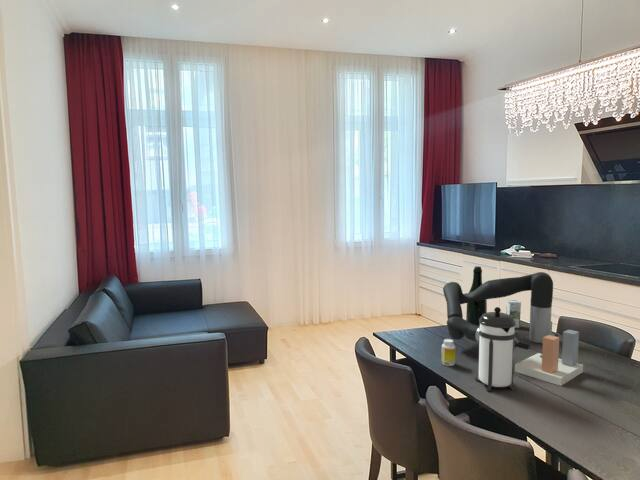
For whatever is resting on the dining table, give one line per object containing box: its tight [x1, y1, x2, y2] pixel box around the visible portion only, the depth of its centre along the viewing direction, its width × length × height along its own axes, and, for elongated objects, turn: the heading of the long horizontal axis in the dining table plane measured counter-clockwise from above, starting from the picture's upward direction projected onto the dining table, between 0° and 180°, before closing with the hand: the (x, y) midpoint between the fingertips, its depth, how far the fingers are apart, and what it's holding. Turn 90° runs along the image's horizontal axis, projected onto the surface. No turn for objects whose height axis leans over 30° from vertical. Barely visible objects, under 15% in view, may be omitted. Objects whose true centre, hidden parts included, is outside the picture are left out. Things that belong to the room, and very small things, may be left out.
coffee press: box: [474, 306, 517, 392], centre depth 170 cm, size 17×16×30 cm
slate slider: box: [561, 329, 580, 366], centre depth 181 cm, size 4×5×13 cm
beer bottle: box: [465, 265, 488, 326], centre depth 241 cm, size 10×10×33 cm
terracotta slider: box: [541, 335, 560, 373], centre depth 175 cm, size 4×5×13 cm
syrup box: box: [505, 299, 522, 329], centre depth 242 cm, size 6×6×14 cm
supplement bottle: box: [440, 338, 456, 367], centre depth 191 cm, size 6×6×10 cm
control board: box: [514, 352, 584, 387], centre depth 182 cm, size 18×20×4 cm
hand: (529, 346), depth 181 cm, fingers closed
